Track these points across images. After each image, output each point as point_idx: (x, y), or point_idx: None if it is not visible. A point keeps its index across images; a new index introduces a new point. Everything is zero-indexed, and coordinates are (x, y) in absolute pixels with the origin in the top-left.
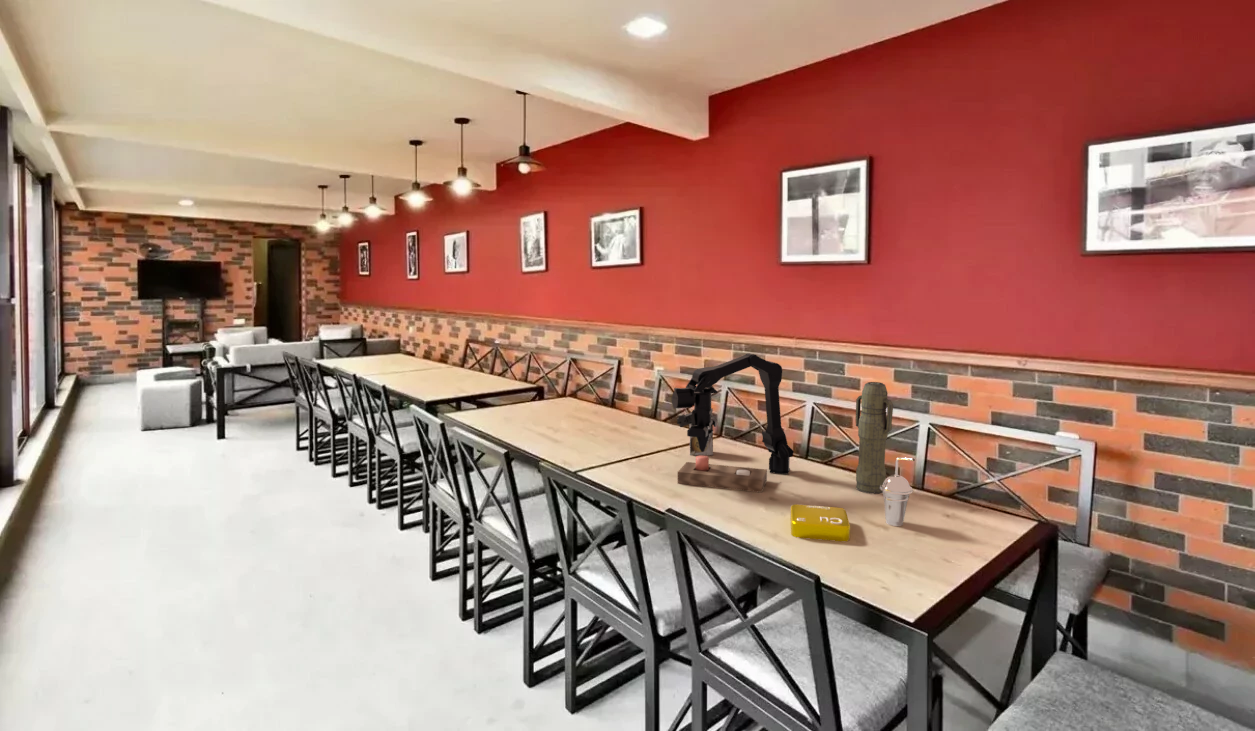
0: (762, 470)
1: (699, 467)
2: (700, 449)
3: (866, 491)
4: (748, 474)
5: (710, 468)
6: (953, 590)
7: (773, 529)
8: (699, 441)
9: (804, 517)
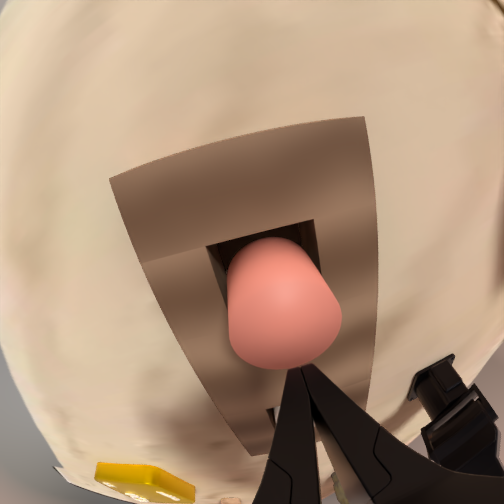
0: None
1: (227, 294)
2: (285, 386)
3: (332, 475)
4: None
5: None
6: (125, 500)
7: (90, 451)
8: (267, 482)
9: (119, 487)
